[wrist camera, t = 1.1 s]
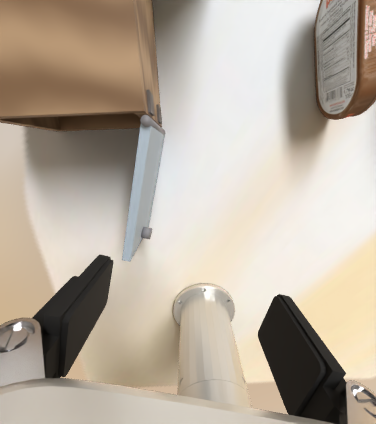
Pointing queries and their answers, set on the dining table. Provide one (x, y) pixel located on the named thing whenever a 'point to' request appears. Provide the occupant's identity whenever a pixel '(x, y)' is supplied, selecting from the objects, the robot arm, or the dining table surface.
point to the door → (143, 185)
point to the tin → (345, 57)
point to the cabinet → (78, 64)
